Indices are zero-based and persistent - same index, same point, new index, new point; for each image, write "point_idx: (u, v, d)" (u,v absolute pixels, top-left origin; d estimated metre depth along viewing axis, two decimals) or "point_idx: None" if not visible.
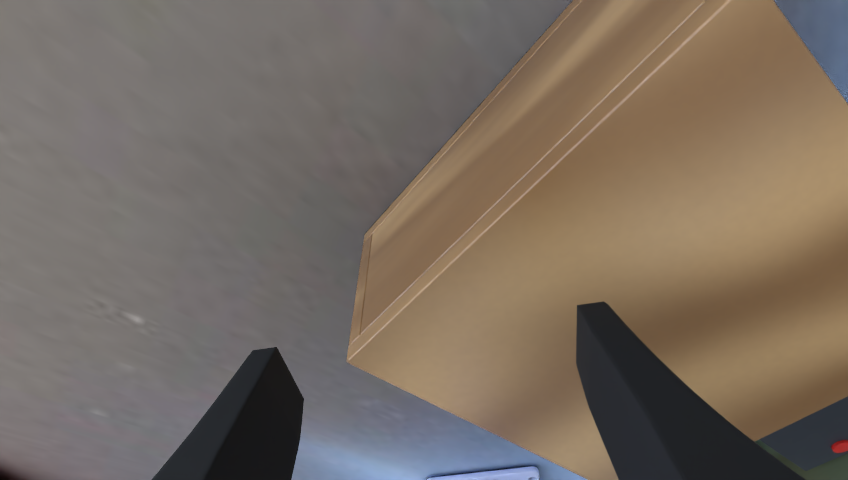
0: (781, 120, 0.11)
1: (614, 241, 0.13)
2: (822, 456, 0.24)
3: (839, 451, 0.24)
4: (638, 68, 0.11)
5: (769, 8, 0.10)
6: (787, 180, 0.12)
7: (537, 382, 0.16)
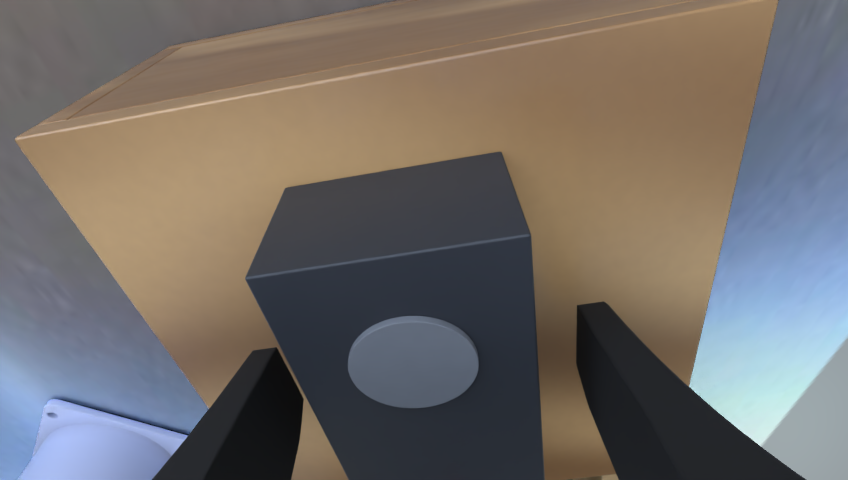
0: (683, 175, 0.10)
1: None
2: None
3: None
4: (619, 16, 0.09)
5: (761, 44, 0.09)
6: (643, 243, 0.11)
7: None
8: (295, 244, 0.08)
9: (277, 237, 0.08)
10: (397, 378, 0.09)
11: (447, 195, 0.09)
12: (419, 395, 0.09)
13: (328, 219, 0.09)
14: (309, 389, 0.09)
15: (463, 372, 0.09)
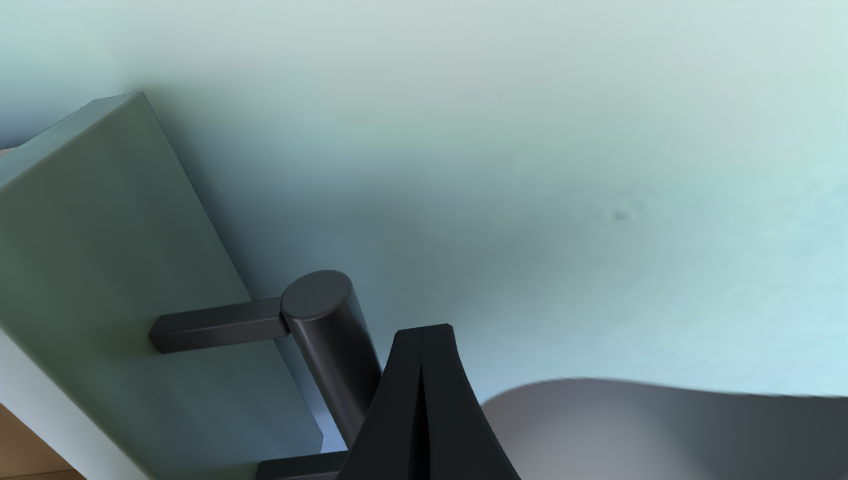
0: None
1: None
2: None
3: None
4: None
5: None
6: None
7: None
8: None
9: None
10: None
11: None
12: None
13: None
14: None
15: None
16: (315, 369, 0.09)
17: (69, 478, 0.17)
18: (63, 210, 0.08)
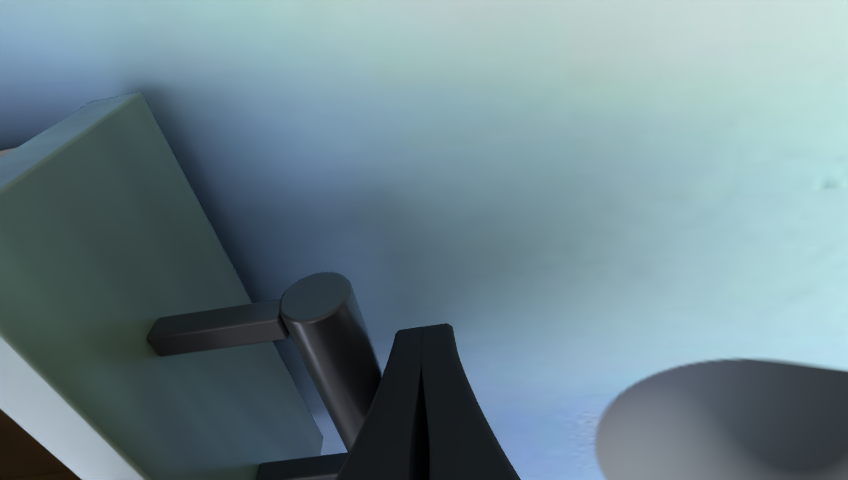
0: None
1: None
2: None
3: None
4: None
5: None
6: None
7: None
8: None
9: None
10: None
11: None
12: None
13: None
14: None
15: None
16: (314, 372, 0.09)
17: None
18: (61, 212, 0.08)
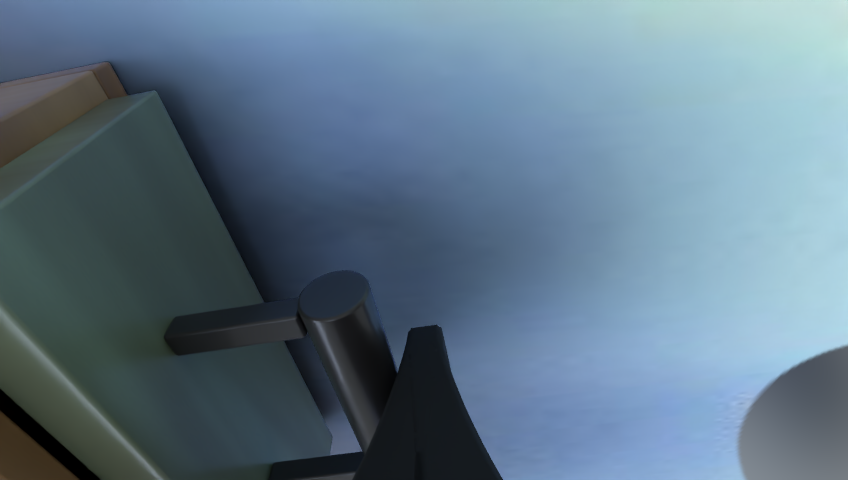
0: None
1: None
2: None
3: None
4: None
5: None
6: None
7: None
8: None
9: None
10: None
11: None
12: None
13: None
14: None
15: None
16: (332, 370, 0.09)
17: None
18: (81, 210, 0.08)
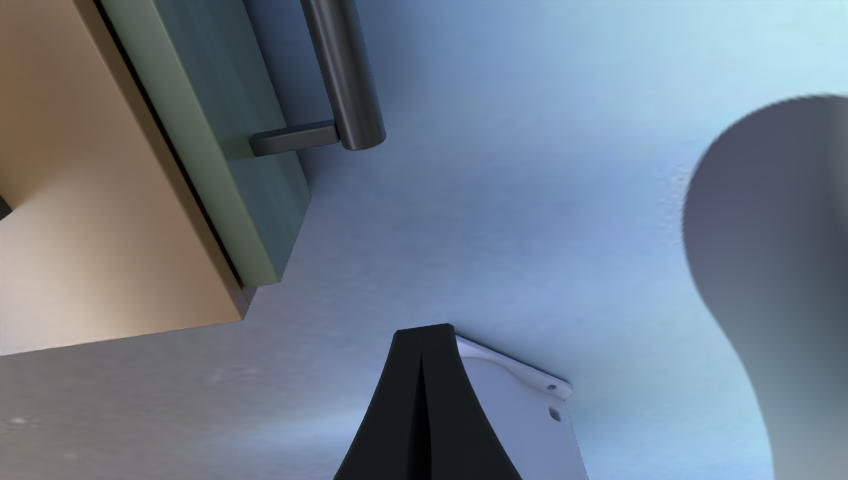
0: None
1: None
2: None
3: None
4: None
5: None
6: None
7: None
8: None
9: None
10: None
11: None
12: None
13: None
14: None
15: None
16: None
17: None
18: None
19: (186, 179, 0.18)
